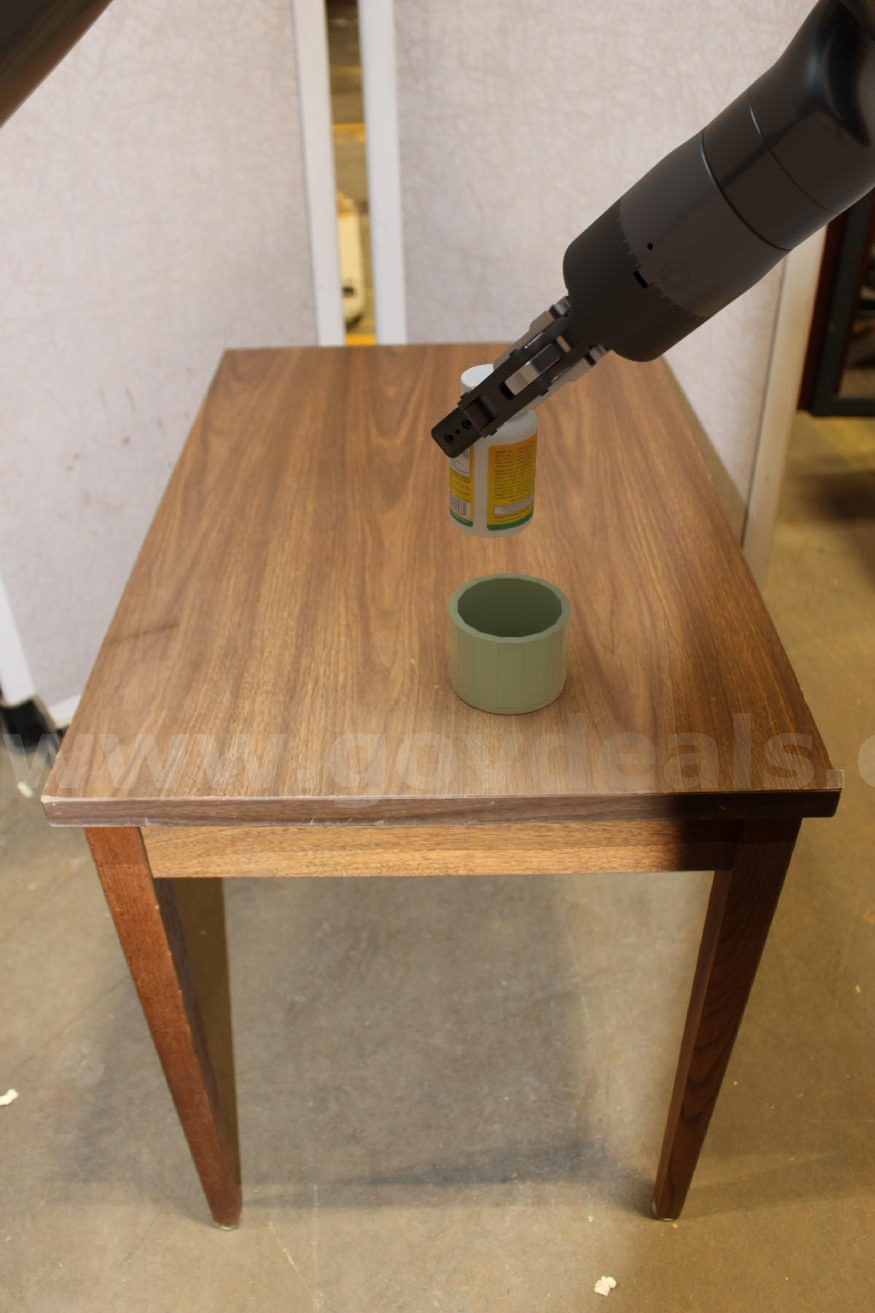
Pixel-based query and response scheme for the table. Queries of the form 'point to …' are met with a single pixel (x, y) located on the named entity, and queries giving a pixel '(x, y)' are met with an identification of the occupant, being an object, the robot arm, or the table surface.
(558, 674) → the holder
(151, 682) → the table surface
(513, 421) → the supplement bottle
